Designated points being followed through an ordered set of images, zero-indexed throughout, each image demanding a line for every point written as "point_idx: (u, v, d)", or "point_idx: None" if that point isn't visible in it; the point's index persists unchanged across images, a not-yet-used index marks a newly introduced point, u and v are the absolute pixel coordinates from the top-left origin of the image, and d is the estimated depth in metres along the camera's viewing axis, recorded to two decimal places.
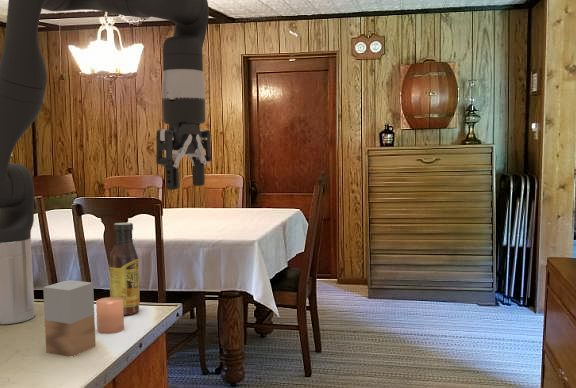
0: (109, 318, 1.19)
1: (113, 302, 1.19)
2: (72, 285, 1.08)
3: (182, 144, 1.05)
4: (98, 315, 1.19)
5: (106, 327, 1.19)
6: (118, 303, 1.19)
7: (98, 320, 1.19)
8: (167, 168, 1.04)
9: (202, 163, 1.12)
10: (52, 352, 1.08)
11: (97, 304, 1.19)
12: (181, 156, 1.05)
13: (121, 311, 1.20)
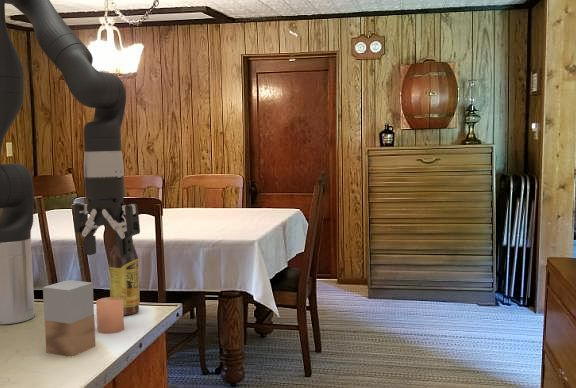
0: (109, 318, 1.19)
1: (113, 302, 1.19)
2: (72, 285, 1.08)
3: (122, 216, 1.19)
4: (98, 315, 1.19)
5: (106, 327, 1.19)
6: (118, 303, 1.19)
7: (98, 320, 1.19)
8: (128, 238, 1.17)
9: (94, 233, 1.22)
10: (52, 352, 1.08)
11: (97, 304, 1.19)
12: None
13: (121, 311, 1.20)
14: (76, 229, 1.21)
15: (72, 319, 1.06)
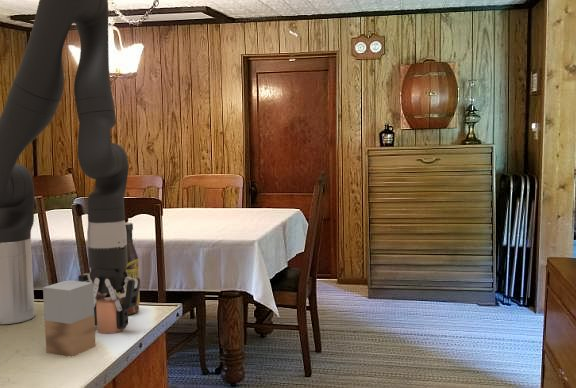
0: (109, 318, 1.19)
1: (113, 302, 1.19)
2: (72, 285, 1.08)
3: (123, 286, 1.21)
4: (98, 315, 1.19)
5: (106, 327, 1.19)
6: None
7: (98, 319, 1.19)
8: (125, 310, 1.19)
9: None
10: (52, 352, 1.08)
11: (97, 304, 1.19)
12: None
13: None
14: None
15: (72, 319, 1.06)
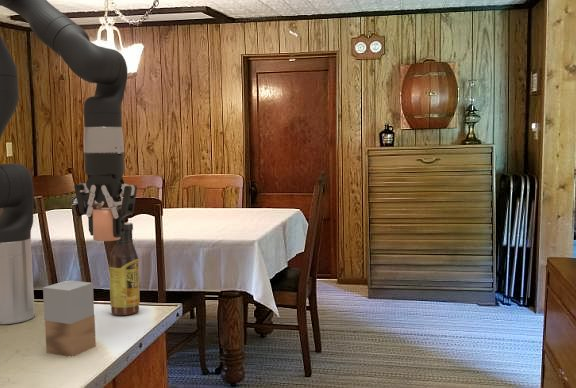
0: (105, 225, 1.17)
1: (110, 209, 1.18)
2: (72, 285, 1.08)
3: (120, 195, 1.19)
4: (94, 223, 1.18)
5: (102, 234, 1.17)
6: None
7: (95, 227, 1.17)
8: (122, 218, 1.18)
9: None
10: (52, 352, 1.08)
11: (93, 211, 1.18)
12: None
13: None
14: (80, 209, 1.20)
15: (72, 319, 1.06)
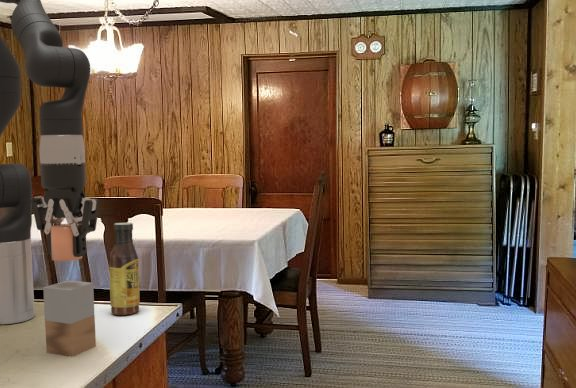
0: (64, 243, 1.06)
1: (69, 226, 1.07)
2: (72, 285, 1.08)
3: (81, 209, 1.08)
4: (52, 241, 1.06)
5: (61, 253, 1.06)
6: None
7: (53, 246, 1.06)
8: (82, 236, 1.06)
9: None
10: (52, 352, 1.08)
11: (51, 228, 1.06)
12: None
13: None
14: (38, 226, 1.09)
15: (72, 319, 1.06)
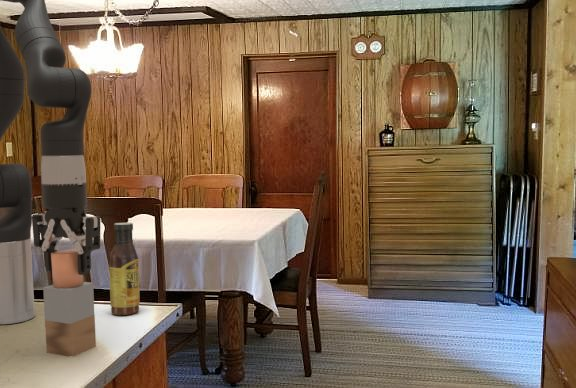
0: (65, 270, 1.06)
1: (70, 253, 1.07)
2: None
3: (83, 228, 1.08)
4: (53, 268, 1.07)
5: (62, 281, 1.06)
6: (75, 254, 1.07)
7: (54, 273, 1.07)
8: (87, 254, 1.06)
9: (55, 247, 1.11)
10: (52, 352, 1.08)
11: (51, 256, 1.07)
12: (85, 240, 1.08)
13: None
14: (35, 243, 1.09)
15: (72, 319, 1.06)
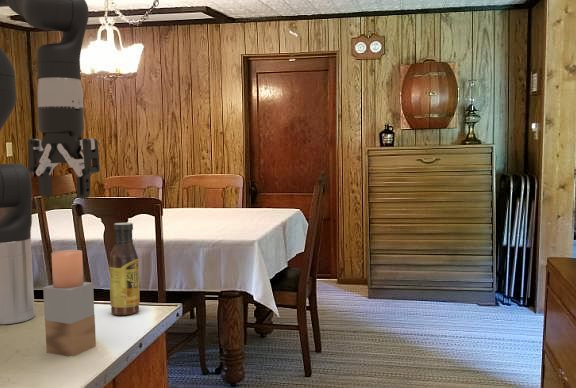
0: (65, 271, 1.06)
1: (70, 253, 1.07)
2: None
3: (81, 153, 1.07)
4: (53, 268, 1.07)
5: (62, 281, 1.06)
6: (76, 254, 1.07)
7: (54, 273, 1.07)
8: (86, 177, 1.05)
9: (50, 173, 1.10)
10: (52, 352, 1.08)
11: (52, 256, 1.07)
12: None
13: (80, 264, 1.08)
14: (30, 167, 1.08)
15: (72, 319, 1.06)
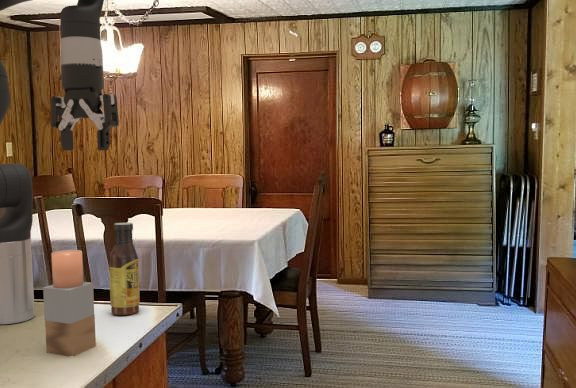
0: (65, 271, 1.06)
1: (70, 253, 1.07)
2: None
3: (100, 109, 1.14)
4: (53, 268, 1.07)
5: (62, 281, 1.06)
6: (76, 255, 1.07)
7: (54, 273, 1.07)
8: (106, 130, 1.12)
9: (71, 128, 1.17)
10: (52, 352, 1.08)
11: (52, 256, 1.07)
12: None
13: (80, 264, 1.08)
14: (52, 123, 1.16)
15: (72, 319, 1.06)
